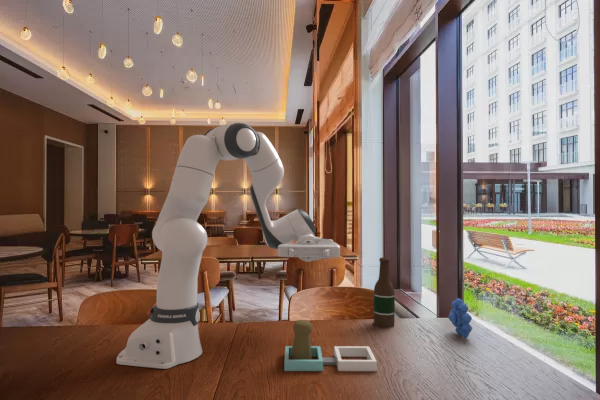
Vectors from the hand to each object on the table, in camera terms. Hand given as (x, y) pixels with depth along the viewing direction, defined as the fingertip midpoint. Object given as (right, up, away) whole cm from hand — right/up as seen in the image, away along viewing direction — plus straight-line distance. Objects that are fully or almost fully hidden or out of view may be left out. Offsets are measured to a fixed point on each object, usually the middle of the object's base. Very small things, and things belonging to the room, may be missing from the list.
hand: (309, 253), depth 111 cm
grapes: (+50, -29, +9) cm, 58 cm away
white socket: (+10, -28, -12) cm, 32 cm away
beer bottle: (+27, -29, +20) cm, 44 cm away
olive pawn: (-3, -28, -12) cm, 31 cm away
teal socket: (-2, -28, -13) cm, 31 cm away
